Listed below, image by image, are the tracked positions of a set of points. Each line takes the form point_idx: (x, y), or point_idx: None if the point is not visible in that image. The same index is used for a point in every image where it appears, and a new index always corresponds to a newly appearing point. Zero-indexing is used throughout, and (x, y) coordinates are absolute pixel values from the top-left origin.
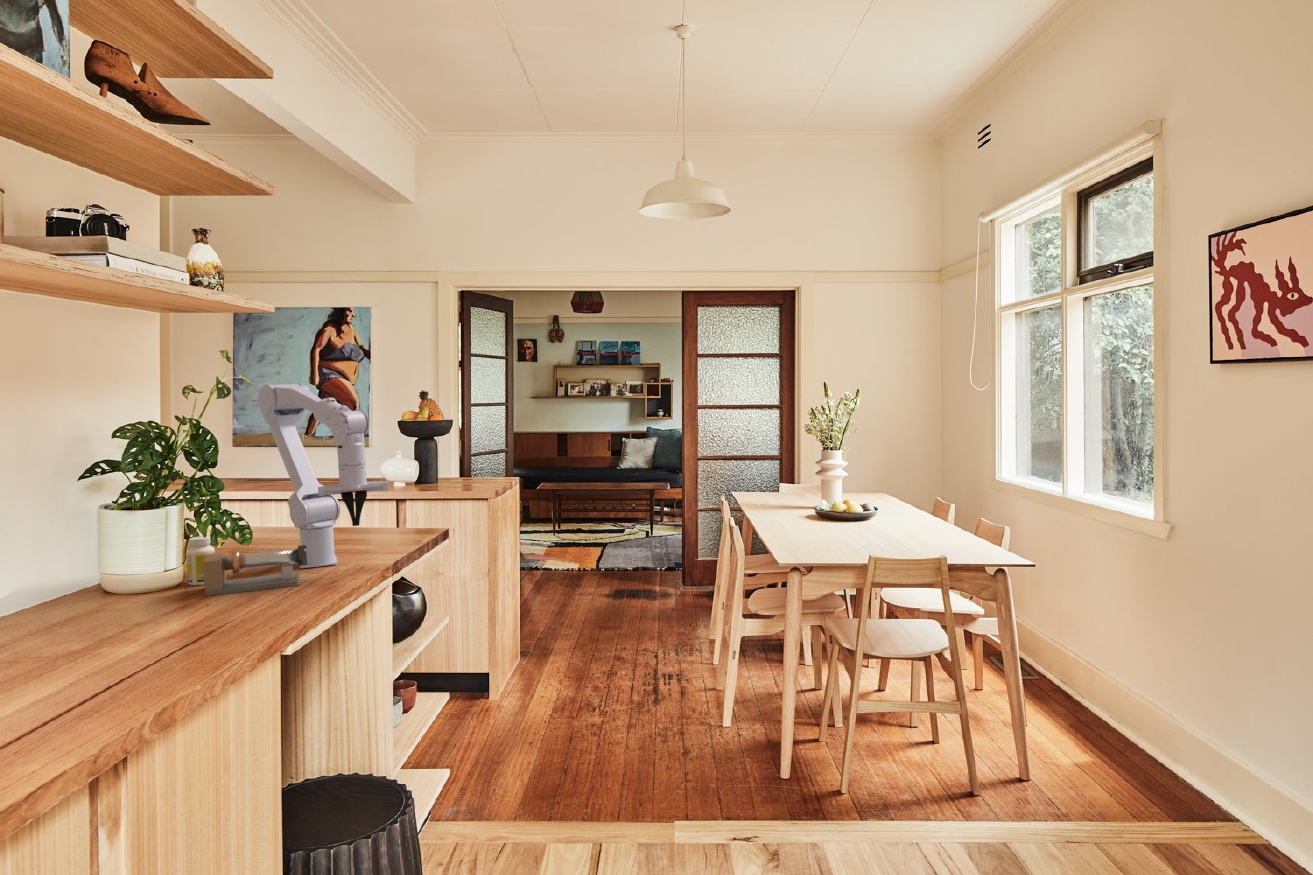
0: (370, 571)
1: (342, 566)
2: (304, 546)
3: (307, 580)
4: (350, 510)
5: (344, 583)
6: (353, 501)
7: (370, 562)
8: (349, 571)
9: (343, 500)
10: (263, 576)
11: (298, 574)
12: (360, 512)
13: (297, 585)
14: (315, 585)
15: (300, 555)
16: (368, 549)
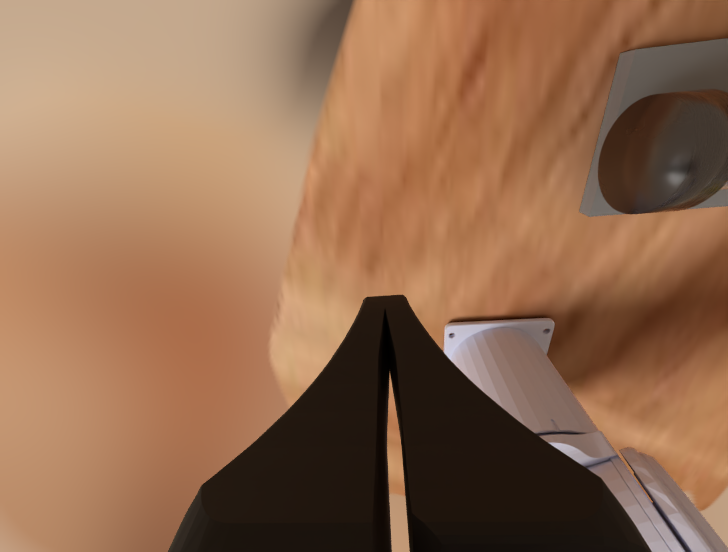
0: (341, 198)
1: (430, 303)
2: (702, 140)
3: (563, 143)
4: (435, 361)
5: (435, 6)
6: (409, 442)
7: (350, 319)
8: (411, 228)
9: (586, 469)
10: (716, 205)
11: (591, 199)
12: (341, 349)
13: (622, 54)
14: (554, 22)
15: (703, 89)
16: None
